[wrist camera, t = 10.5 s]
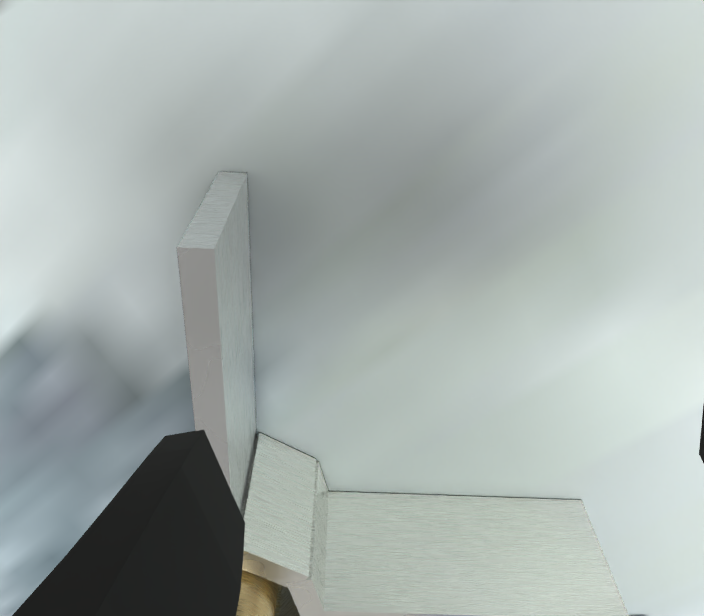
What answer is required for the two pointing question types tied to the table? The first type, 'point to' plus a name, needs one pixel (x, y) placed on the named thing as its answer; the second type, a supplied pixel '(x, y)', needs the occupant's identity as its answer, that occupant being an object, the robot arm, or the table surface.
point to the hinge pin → (257, 596)
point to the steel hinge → (352, 507)
